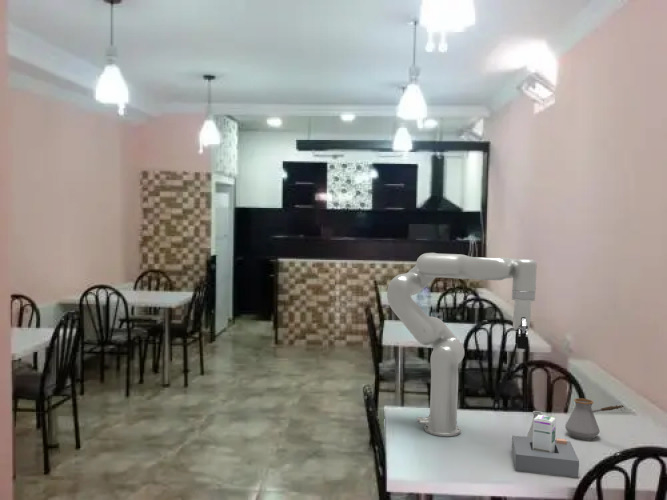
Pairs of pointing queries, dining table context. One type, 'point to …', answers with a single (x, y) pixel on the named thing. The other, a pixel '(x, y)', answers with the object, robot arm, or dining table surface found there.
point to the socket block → (545, 458)
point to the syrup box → (544, 433)
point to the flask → (530, 433)
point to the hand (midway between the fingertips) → (521, 346)
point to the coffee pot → (585, 419)
